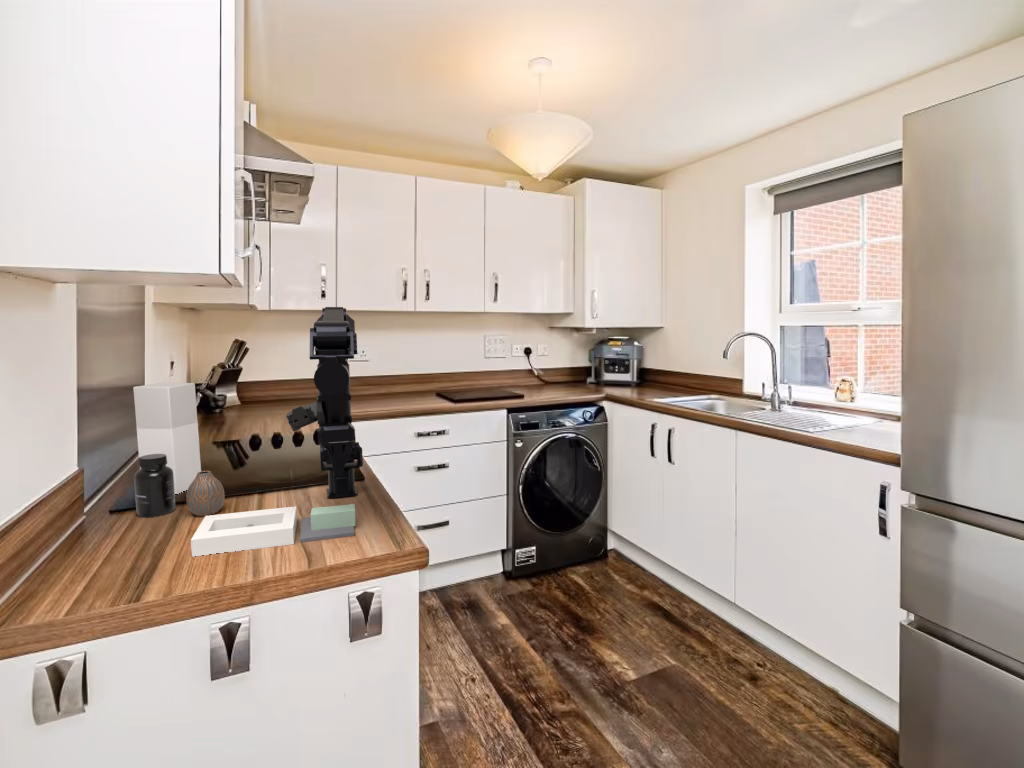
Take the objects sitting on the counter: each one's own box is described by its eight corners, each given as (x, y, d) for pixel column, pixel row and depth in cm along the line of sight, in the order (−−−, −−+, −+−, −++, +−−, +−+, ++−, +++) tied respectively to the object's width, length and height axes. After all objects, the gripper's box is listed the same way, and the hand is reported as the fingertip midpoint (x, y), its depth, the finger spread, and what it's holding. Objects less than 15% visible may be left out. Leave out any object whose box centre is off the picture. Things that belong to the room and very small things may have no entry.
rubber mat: (302, 521, 107) (302, 518, 107) (351, 515, 110) (351, 512, 110) (299, 542, 97) (299, 539, 97) (354, 535, 100) (354, 532, 100)
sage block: (312, 522, 105) (311, 508, 104) (355, 518, 107) (354, 503, 107) (311, 530, 101) (310, 515, 101) (355, 525, 103) (355, 510, 103)
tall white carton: (141, 494, 124) (132, 386, 121) (169, 482, 133) (161, 382, 130) (176, 495, 123) (168, 387, 120) (202, 484, 132) (195, 382, 129)
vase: (191, 509, 114) (188, 469, 113) (227, 505, 116) (225, 466, 115) (184, 521, 108) (181, 478, 106) (222, 516, 110) (220, 474, 109)
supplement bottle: (131, 519, 108) (126, 461, 107) (144, 508, 115) (139, 453, 113) (169, 516, 110) (165, 459, 109) (180, 505, 117) (176, 451, 115)
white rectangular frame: (206, 531, 102) (205, 515, 102) (297, 520, 107) (296, 506, 107) (192, 556, 91) (190, 539, 91) (293, 544, 96) (292, 528, 96)
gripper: (291, 385, 107) (294, 461, 109) (284, 397, 90) (289, 487, 92) (349, 383, 111) (351, 457, 113) (353, 394, 93) (356, 481, 95)
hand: (337, 469), depth 103 cm, fingers open, 9 cm apart
